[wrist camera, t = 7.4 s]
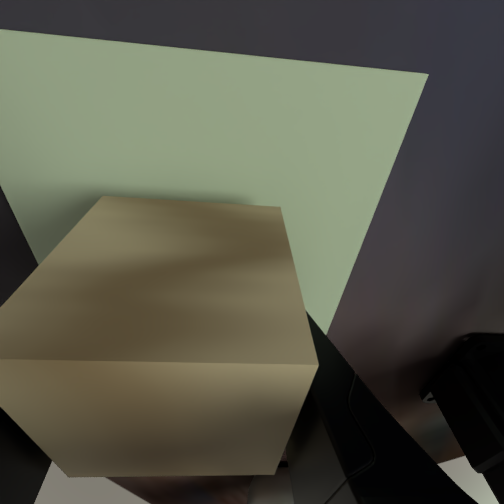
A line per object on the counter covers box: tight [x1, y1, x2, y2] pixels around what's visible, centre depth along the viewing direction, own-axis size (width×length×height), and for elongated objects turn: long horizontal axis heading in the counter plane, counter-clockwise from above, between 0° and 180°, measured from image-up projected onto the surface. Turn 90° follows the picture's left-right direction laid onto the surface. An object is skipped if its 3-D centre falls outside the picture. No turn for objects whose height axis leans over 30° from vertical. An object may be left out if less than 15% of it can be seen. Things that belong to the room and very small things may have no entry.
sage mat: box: [0, 29, 429, 335], centre depth 10 cm, size 12×12×1 cm
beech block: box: [0, 196, 319, 477], centre depth 7 cm, size 5×5×5 cm
